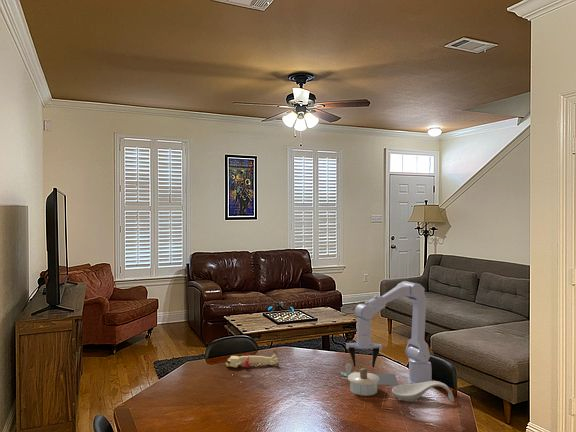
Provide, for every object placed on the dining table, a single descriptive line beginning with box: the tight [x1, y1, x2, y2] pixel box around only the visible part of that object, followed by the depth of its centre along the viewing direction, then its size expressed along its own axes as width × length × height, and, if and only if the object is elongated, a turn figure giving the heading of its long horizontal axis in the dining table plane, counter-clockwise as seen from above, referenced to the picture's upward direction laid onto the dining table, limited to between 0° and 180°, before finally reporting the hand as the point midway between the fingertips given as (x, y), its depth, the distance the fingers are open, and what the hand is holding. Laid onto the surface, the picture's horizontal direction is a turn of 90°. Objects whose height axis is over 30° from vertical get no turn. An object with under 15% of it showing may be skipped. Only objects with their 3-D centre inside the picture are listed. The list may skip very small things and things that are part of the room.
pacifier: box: [339, 362, 357, 380], centre depth 210 cm, size 7×6×6 cm
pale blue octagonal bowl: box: [349, 381, 378, 396], centre depth 194 cm, size 11×11×5 cm
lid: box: [347, 367, 380, 385], centre depth 194 cm, size 13×13×4 cm
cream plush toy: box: [225, 349, 279, 369], centre depth 226 cm, size 10×9×25 cm
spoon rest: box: [391, 380, 455, 403], centre depth 186 cm, size 24×12×7 cm, turn 86°
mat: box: [370, 372, 399, 386], centre depth 207 cm, size 14×14×1 cm
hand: (363, 366), depth 194 cm, fingers open, 7 cm apart
